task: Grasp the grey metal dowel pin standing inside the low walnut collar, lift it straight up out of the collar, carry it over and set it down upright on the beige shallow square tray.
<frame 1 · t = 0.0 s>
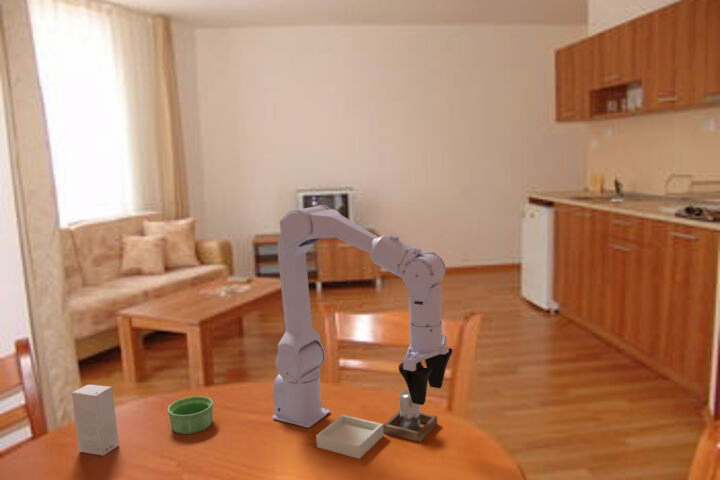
hand: (427, 394, 102), 10 cm above the table, tool pointing down, fingers open, 7 cm apart
ramekin: (192, 426, 116), on the table
supplement bottle: (292, 392, 130), on the table
dowel pin: (410, 411, 110), in the walnut collar
walnut collar: (410, 428, 111), on the table
beige shallow square tray: (350, 441, 107), on the table
skincare box: (99, 449, 108), on the table
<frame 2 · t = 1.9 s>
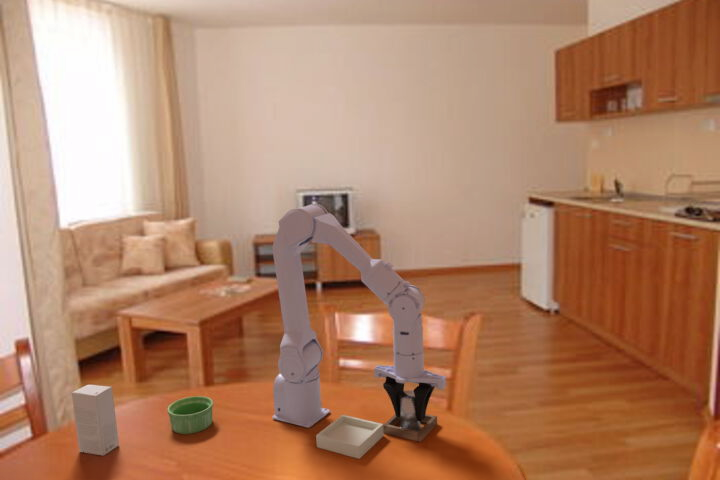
hand: (410, 416, 110), 2 cm above the table, tool pointing down, fingers closed on dowel pin, 4 cm apart
dowel pin: (410, 411, 110), in the walnut collar, touching gripper
everything else where it was.
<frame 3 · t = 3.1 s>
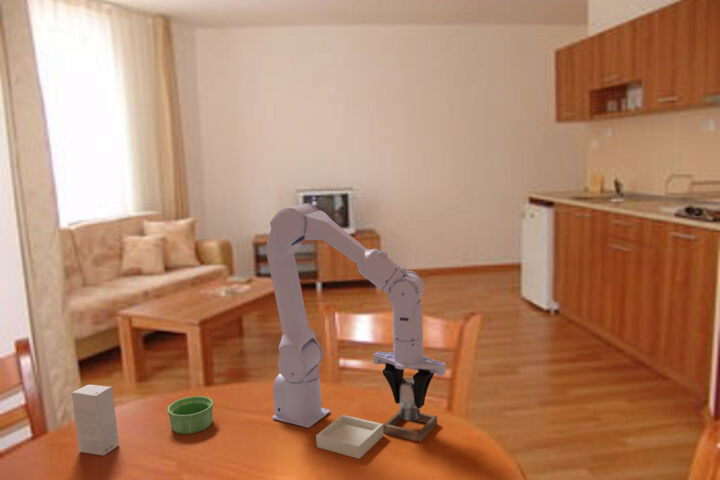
hand: (409, 403, 110), 5 cm above the table, tool pointing down, fingers closed on dowel pin, 4 cm apart
dowel pin: (409, 398, 110), point 6 cm above the table, touching gripper
everything else where it was.
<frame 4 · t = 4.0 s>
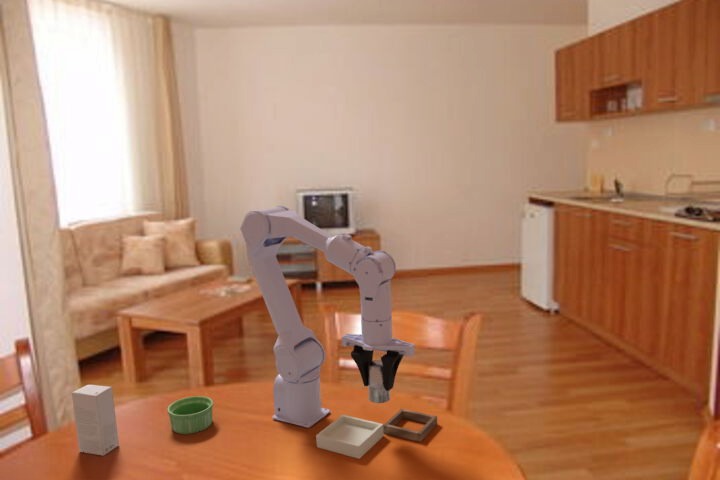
hand: (378, 386, 107), 10 cm above the table, tool pointing down, fingers closed on dowel pin, 4 cm apart
dowel pin: (378, 381, 107), point 11 cm above the table, touching gripper
everything else where it was.
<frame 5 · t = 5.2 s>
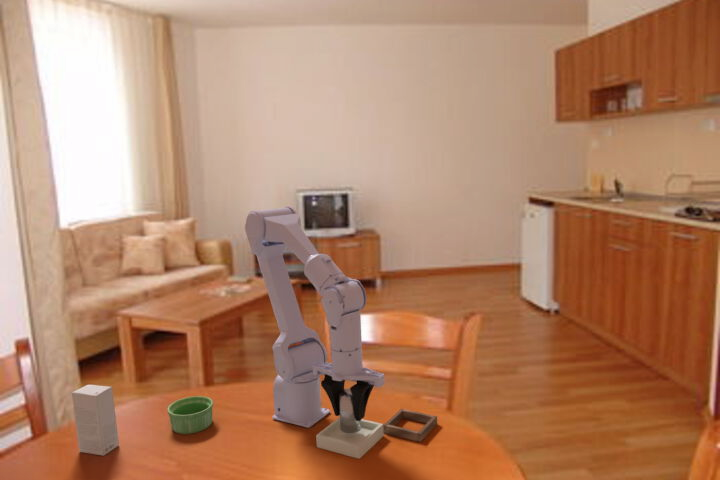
hand: (349, 416, 106), 5 cm above the table, tool pointing down, fingers closed on dowel pin, 4 cm apart
dowel pin: (350, 410, 106), point 6 cm above the table, touching gripper
everything else where it was.
when the fingers open (5 cm above the table, at t = 6.1 s): dowel pin stays where it is, resting on beige shallow square tray.
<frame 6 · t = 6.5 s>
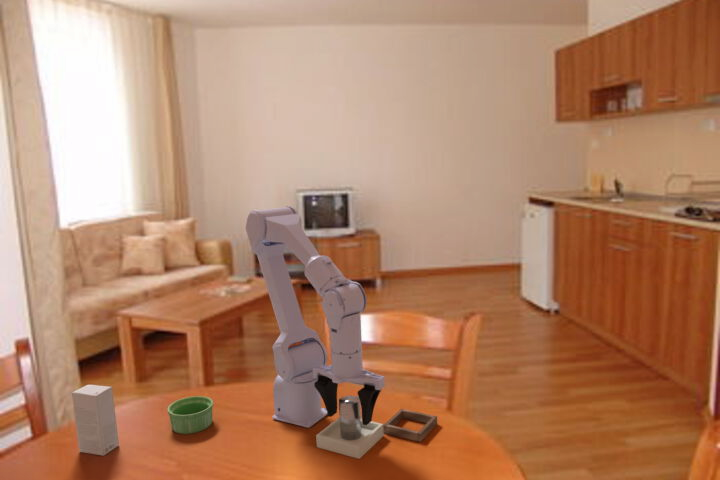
hand: (349, 418, 106), 5 cm above the table, tool pointing down, fingers open, 7 cm apart
dowel pin: (350, 417, 106), in the beige shallow square tray, point 5 cm above the table
everything else where it was.
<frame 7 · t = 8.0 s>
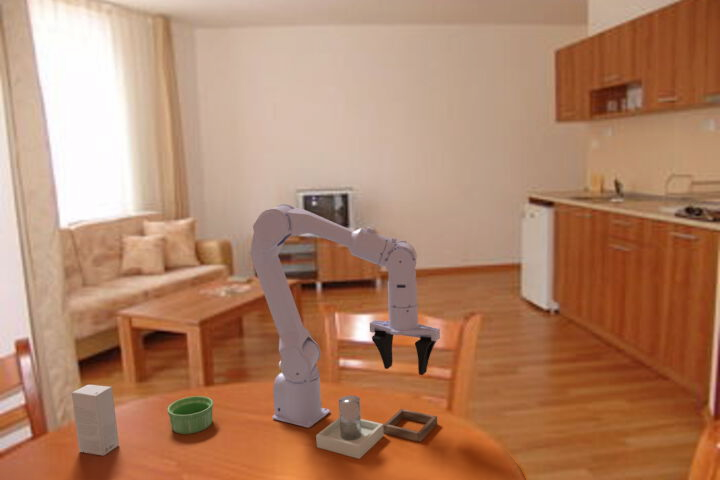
hand: (405, 370, 113), 10 cm above the table, tool pointing down, fingers open, 7 cm apart
nothing on the table moved.
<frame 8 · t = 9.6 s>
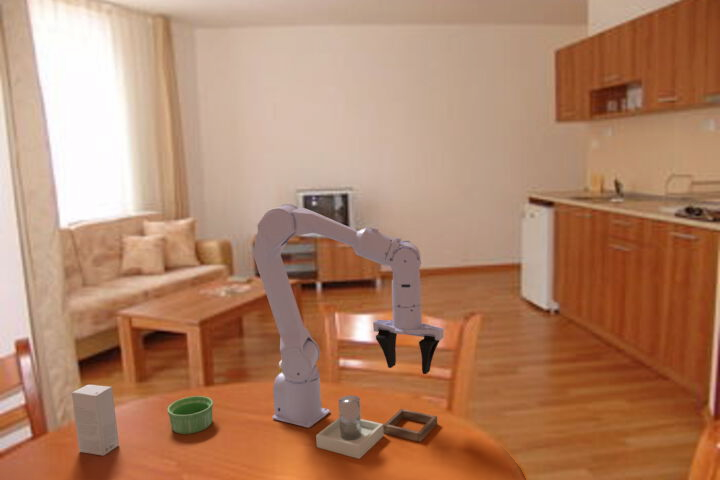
hand: (408, 369, 114), 10 cm above the table, tool pointing down, fingers open, 7 cm apart
nothing on the table moved.
at the end: dowel pin inside the target area on the beige shallow square tray (0.2 cm from its centre), point 4.7 cm above the beige shallow square tray's base; dowel pin tilted 0°; the gripper is holding nothing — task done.
